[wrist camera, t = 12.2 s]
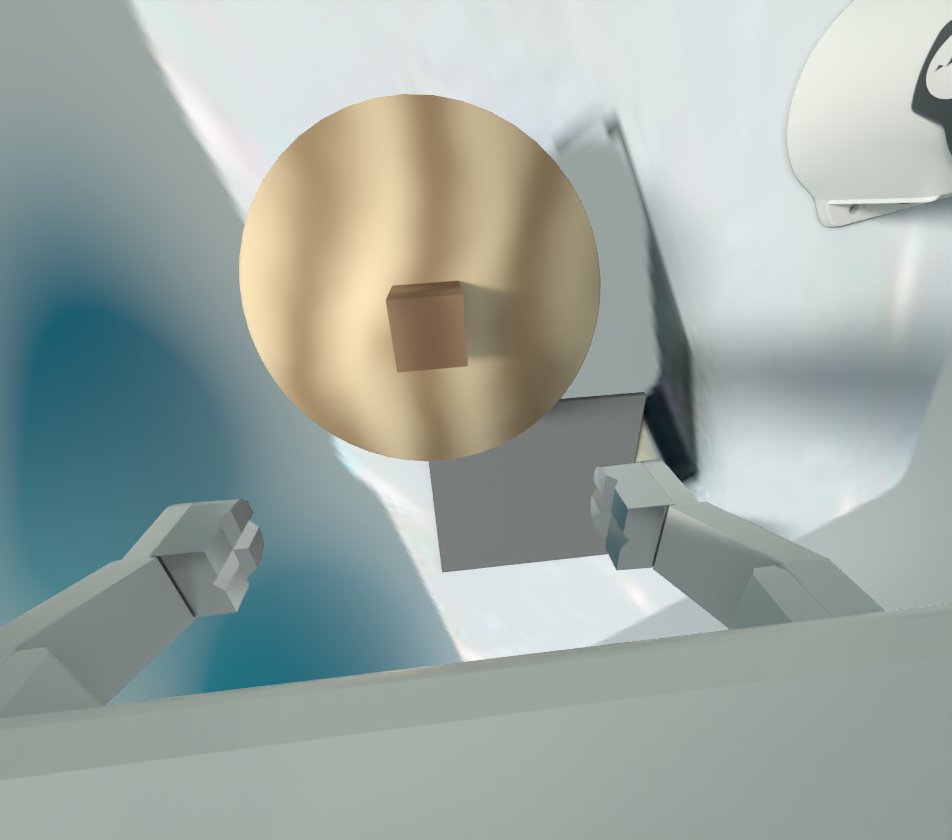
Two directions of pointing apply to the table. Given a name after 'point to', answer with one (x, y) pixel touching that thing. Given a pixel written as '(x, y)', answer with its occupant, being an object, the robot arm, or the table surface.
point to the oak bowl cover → (419, 277)
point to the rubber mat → (534, 486)
